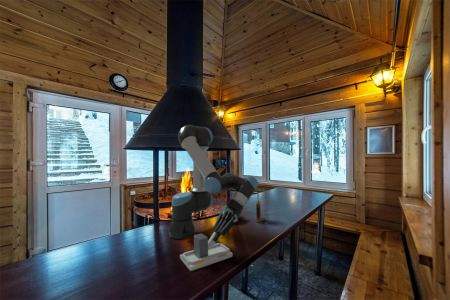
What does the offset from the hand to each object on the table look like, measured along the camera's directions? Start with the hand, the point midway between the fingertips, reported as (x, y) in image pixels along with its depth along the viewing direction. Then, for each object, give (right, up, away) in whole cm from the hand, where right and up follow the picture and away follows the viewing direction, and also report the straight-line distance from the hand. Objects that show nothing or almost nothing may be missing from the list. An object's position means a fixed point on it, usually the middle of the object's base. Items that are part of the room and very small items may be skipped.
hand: (208, 246), depth 87 cm
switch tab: (-3, -3, -1) cm, 5 cm away
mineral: (+12, -7, +53) cm, 55 cm away
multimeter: (+34, -6, +48) cm, 59 cm away
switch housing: (-1, -5, 0) cm, 5 cm away
